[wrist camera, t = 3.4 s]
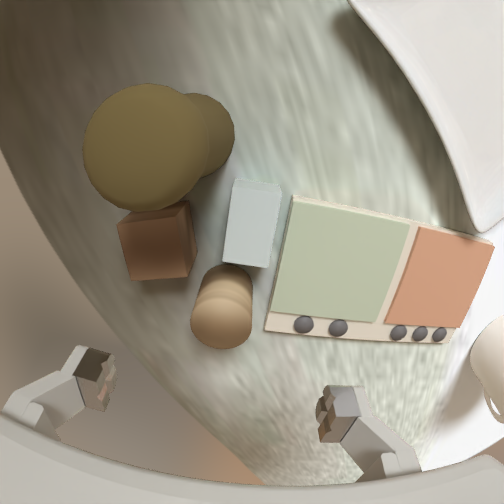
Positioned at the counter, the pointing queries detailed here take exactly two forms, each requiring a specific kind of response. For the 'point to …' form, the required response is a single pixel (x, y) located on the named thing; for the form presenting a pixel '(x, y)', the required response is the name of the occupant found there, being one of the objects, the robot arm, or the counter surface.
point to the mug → (491, 364)
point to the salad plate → (454, 84)
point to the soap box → (252, 222)
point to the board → (372, 275)
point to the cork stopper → (223, 307)
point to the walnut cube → (158, 242)
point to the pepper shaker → (154, 145)
